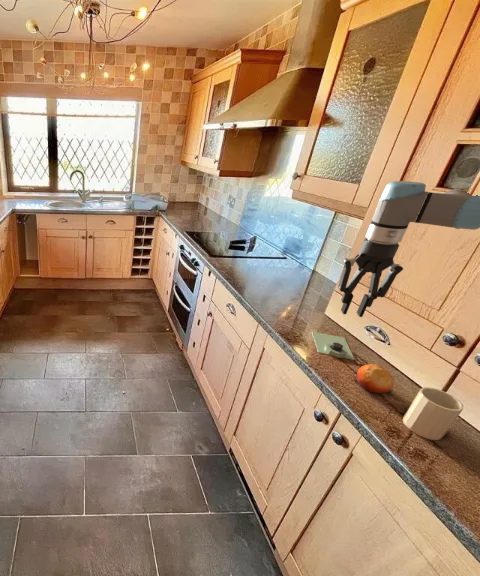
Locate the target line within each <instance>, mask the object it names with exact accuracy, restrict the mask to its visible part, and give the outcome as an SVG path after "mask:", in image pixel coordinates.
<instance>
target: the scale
mask: <svg viewBox="0 0 480 576" xmlns="http://www.w3.org/2000/svg"><path fill="white" fill-rule="evenodd" d="M311 335H312V337H313V341H314V344H315V347H316V350H317V353H319V354H324V355H328V356H332V357H334V358H337V359H342V358H343V359H348V360H352V361H355V360H356V359H355V356H354V355H353V353H352V351H351V349H350V347H349V344H348V342H347V340H346V338H345V337H343V336H339V335H338V336H337V335H332V334H327V333H321V332H316V331H311ZM333 343H339V344H341V345H343V349H342V351H341V352H338V351H334V350H333V349H331V347H332V344H333Z"/></svg>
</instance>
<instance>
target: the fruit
mask: <svg viewBox="0 0 480 576" xmlns="http://www.w3.org/2000/svg"><path fill="white" fill-rule="evenodd" d="M354 380H356V381H357V382H358V384H359V385H360V387H362V388H363V389H364V390H365V391H366V392H369V393H377V394H378V393H380V394H382V393H389V392H390V391H392V388H393V387H394V385H395V384H394V383H395V378H394V377H393V376H392V374H391V372H390V371H389V370H388V369H386V368H384V367H383V366H381V365H379V364H375V363H374V364H372V363H371V364H364V365H362V366H360V367H359V368H358V370H357V373H356V378H354Z"/></svg>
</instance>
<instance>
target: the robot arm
mask: <svg viewBox="0 0 480 576" xmlns="http://www.w3.org/2000/svg"><path fill="white" fill-rule="evenodd" d="M426 187H427V186H426V184H425V183H424V182H418V181H408V180H395V181H391V182H389V183H386V185H385V187H384V190H383V191H382V193H381V196H380V198H379V199H378V203H377V206H376V208H375V211H374V214H373V216H372V219H371V221H370V224H369V226H368V229H367V231H366V233H365V239H363V241H362V244H361V247H360V249H359V252H358V253H357V254H356V255H355V257H352V258H347V257H345V258H343V259H342V263H343V269H342V272H341V275H340V279H339V282H338V289H339V291H340V292H341V293H343V294H342V297H341V299H340V300H341V303H342V306H341V308H340V311H341V313H342V314H343V315H347V313H348V311H349V309H350V306H351V303H352V301H353V299H354V294H353V292H354V291H355V289H356V287H358V284H359V283H360V282H361V280H362V278H363V277H364V276H365V275H366V274H367V273H371V276H370V282H369V288H368V292H367V293H368V294H367V293H365V294H363V296H362V299H361V301H360V303H359V306H358V308H357V310H356V314H357V315H358V318H363V316H364V314H365V312H366V309H367V308H371V307H372V305H373V303H374V300H377V299H378V298H384V297H385V296H386V295H387V293H388V292H389V289H390V288H391V287H392V284H393V282H394V281H395V279H396V278H397V276H398V275H399V274H400V273H401V272H402V271H404V267H403V266H401V264H398V263H395V261H394V259H395V256H396V254H397V252H398V249H399V247H400V244H399V243H401V242H402V240H403V238H404V236H405V234H406V232H407V229H408V227H409V225H410V223H416V224H425V225H430V226H438V227H444V228H445V227H446V228H452V229H456V230H460V229H461V230H473V231H475V230H479V229H480V196H478V195H476V196H472V195H470V194H469V193H467V192H466V191H464V190H461V189H454V190H450V191H447V192H444V193H440V192H429V191H426ZM355 264H356V265H357V267H356V270H355V272H354V273H353V275H352V277H351V279H350V280H349V278H350V275H351V272H352V267H354V265H355ZM386 269H388V271H387V273H386V275H385V276H384V278H383V279H382V282H381V283H380V281H381V277H382V274H383V271H385V270H386ZM348 281H349V282H348Z"/></svg>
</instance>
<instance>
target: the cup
mask: <svg viewBox="0 0 480 576" xmlns="http://www.w3.org/2000/svg"><path fill="white" fill-rule="evenodd" d="M463 410H464V404H463V403H462V402H461V400H460V399H458V398H457V397H455V396H454V395H452V394H450V393H448V392H446V391H444V390H441V389H439V388H435V387H430V386H429V387H427V386H425V387H422V388H420V389H419V390H418V393H417V394H416V395H415V397H414V399H413V400H412V402H411V404H410V405H409V407H408V408H407V410H406V412H405V413H404V415H403V417H402V422H403V424H404V426H405V427H406V428H407V429H409V430H410V431H411V432H413V433H414V434H416V435H417V436H420V437H421V438H424V439H428V440H432V441H439V440H442V438H443V437H444V436H445V435H446V433H447V432H448V431H449V430H450V428H451V427H452V426H453V424H454V423H455V421H456V420H457V419H458V417H459V416H460V415H461V413H462V412H463Z"/></svg>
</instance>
